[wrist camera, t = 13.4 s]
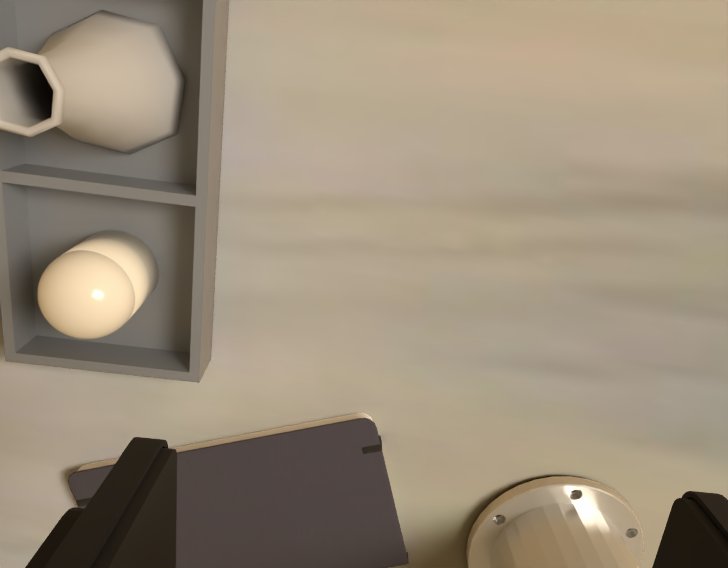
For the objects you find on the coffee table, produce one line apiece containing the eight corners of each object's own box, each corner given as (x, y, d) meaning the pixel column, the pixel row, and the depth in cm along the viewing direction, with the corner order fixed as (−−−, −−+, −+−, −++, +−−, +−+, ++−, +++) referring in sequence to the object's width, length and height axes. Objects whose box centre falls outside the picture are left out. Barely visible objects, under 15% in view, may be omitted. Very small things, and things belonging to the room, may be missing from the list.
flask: (198, 149, 33) (134, 183, 23) (67, 158, 33) (-49, 195, 23) (174, 5, 30) (92, -22, 21) (33, 15, 30) (-112, -7, 21)
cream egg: (158, 310, 36) (118, 360, 30) (77, 301, 36) (21, 349, 30) (159, 235, 34) (117, 271, 28) (75, 224, 34) (15, 259, 28)
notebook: (135, 595, 45) (407, 547, 44) (127, 612, 44) (409, 564, 43) (73, 460, 41) (373, 403, 40) (63, 475, 40) (374, 416, 38)
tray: (211, 358, 38) (199, 382, 35) (31, 338, 37) (5, 361, 34) (229, -18, 30) (217, -26, 27) (6, -52, 30) (-31, -64, 27)
